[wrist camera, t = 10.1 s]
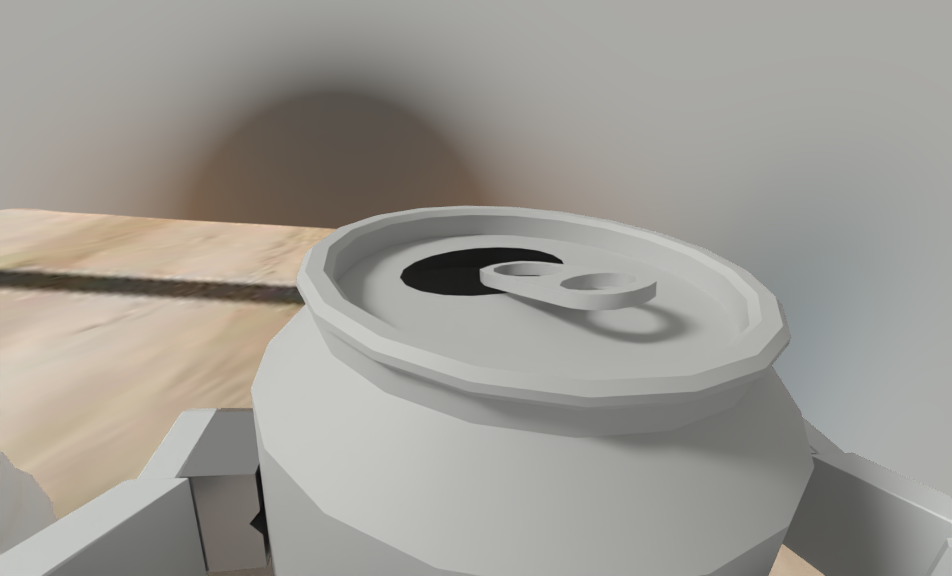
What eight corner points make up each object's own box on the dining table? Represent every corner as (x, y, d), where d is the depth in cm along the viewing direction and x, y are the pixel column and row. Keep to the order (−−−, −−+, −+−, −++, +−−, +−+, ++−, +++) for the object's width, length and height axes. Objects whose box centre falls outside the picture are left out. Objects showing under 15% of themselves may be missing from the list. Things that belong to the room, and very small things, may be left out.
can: (495, 548, 16) (539, 179, 12) (714, 792, 11) (953, 289, 6) (255, 702, 12) (173, 207, 7) (424, 1238, 7) (524, 645, 2)
